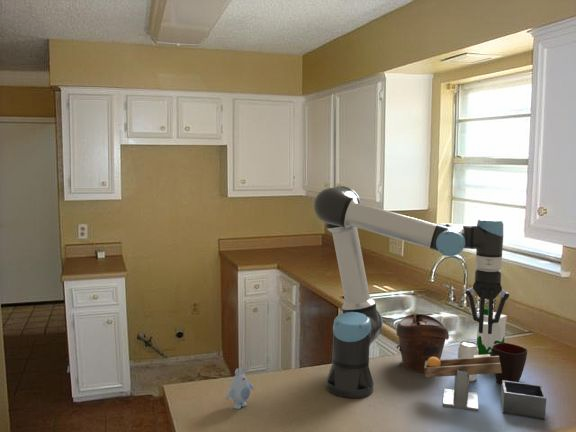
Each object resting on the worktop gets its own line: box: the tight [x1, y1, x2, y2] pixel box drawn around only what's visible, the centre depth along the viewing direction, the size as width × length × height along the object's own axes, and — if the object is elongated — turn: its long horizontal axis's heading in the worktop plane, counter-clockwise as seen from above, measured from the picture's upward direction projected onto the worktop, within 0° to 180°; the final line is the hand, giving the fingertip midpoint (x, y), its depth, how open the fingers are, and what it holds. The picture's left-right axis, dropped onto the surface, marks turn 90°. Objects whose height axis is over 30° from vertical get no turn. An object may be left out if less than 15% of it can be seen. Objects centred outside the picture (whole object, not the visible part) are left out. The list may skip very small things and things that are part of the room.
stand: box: [442, 369, 479, 412], centre depth 167 cm, size 10×11×11 cm
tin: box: [500, 380, 547, 421], centre depth 162 cm, size 11×9×6 cm
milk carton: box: [476, 305, 508, 356], centre depth 198 cm, size 9×9×20 cm
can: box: [457, 340, 478, 383], centre depth 184 cm, size 6×6×12 cm
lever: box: [424, 354, 502, 378], centre depth 169 cm, size 22×14×3 cm, turn 72°
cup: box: [492, 342, 528, 386], centre depth 182 cm, size 10×14×12 cm
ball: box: [427, 357, 441, 367], centre depth 169 cm, size 4×4×4 cm
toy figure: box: [225, 366, 254, 410], centre depth 159 cm, size 11×6×12 cm, turn 136°
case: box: [396, 313, 450, 373], centre depth 194 cm, size 18×20×18 cm
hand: (484, 343), depth 170 cm, fingers closed
